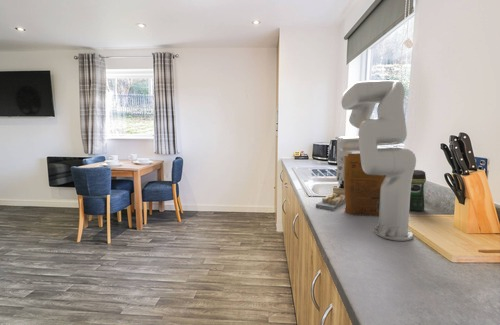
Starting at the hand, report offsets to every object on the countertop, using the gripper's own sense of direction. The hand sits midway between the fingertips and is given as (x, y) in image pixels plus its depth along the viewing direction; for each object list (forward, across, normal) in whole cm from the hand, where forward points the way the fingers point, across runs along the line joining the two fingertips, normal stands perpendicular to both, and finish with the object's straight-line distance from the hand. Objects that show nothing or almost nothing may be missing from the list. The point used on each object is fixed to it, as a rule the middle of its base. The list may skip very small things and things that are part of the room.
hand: (343, 192), depth 144 cm
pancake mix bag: (+3, -20, -18) cm, 27 cm away
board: (+3, -13, 0) cm, 13 cm away
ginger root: (+1, -11, 0) cm, 11 cm away
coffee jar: (+3, +1, -32) cm, 33 cm away
